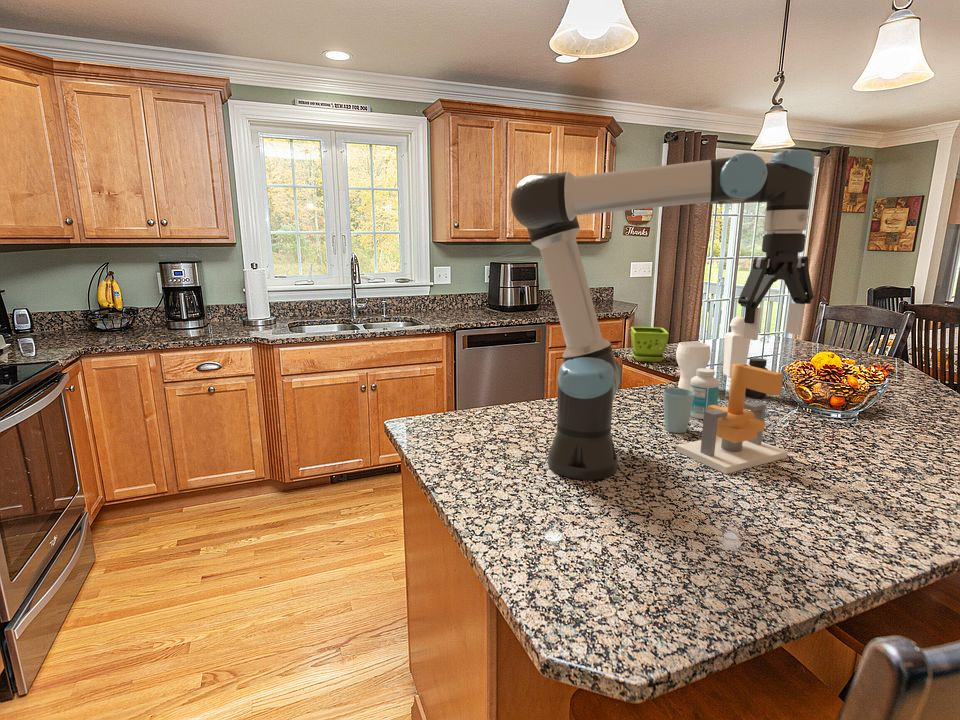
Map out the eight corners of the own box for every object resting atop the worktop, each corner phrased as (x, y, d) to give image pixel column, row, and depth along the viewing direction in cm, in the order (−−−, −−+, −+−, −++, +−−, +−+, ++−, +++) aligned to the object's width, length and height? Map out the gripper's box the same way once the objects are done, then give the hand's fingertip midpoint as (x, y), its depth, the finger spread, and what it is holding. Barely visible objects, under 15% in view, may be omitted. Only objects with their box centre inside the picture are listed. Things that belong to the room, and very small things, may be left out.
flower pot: (631, 362, 217) (633, 331, 214) (628, 355, 231) (630, 326, 228) (667, 363, 215) (669, 332, 212) (661, 356, 228) (664, 327, 225)
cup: (687, 425, 144) (690, 388, 141) (694, 435, 136) (698, 396, 134) (658, 424, 145) (660, 387, 142) (663, 434, 137) (666, 395, 135)
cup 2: (678, 382, 187) (682, 340, 184) (710, 386, 181) (714, 343, 178) (669, 388, 179) (672, 345, 175) (702, 394, 173) (706, 348, 169)
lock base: (725, 474, 114) (730, 423, 111) (676, 451, 126) (679, 405, 124) (787, 457, 122) (793, 410, 120) (735, 437, 135) (739, 394, 132)
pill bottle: (711, 412, 154) (715, 367, 151) (719, 420, 147) (724, 373, 144) (684, 411, 155) (688, 366, 152) (691, 419, 148) (696, 372, 145)
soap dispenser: (746, 377, 192) (753, 317, 188) (728, 377, 193) (734, 317, 188) (738, 373, 199) (744, 315, 194) (720, 373, 199) (726, 315, 194)
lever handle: (757, 453, 113) (766, 376, 109) (696, 429, 128) (703, 360, 124) (782, 446, 117) (792, 372, 113) (720, 424, 131) (727, 357, 127)
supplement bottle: (767, 394, 171) (771, 358, 169) (765, 400, 166) (769, 362, 163) (743, 391, 175) (747, 356, 172) (741, 396, 169) (745, 360, 167)
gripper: (759, 232, 99) (747, 344, 103) (841, 232, 109) (827, 334, 114) (725, 232, 105) (715, 338, 110) (806, 232, 116) (794, 329, 120)
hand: (772, 336), depth 112 cm, fingers open, 13 cm apart
